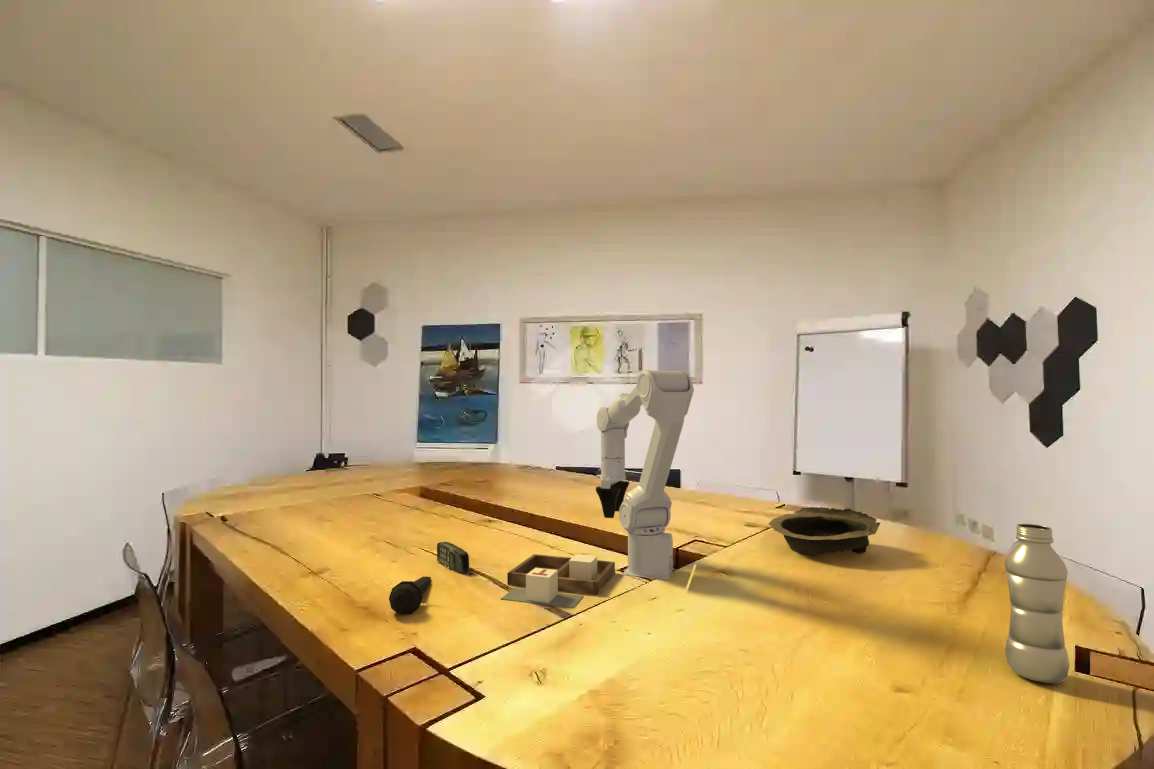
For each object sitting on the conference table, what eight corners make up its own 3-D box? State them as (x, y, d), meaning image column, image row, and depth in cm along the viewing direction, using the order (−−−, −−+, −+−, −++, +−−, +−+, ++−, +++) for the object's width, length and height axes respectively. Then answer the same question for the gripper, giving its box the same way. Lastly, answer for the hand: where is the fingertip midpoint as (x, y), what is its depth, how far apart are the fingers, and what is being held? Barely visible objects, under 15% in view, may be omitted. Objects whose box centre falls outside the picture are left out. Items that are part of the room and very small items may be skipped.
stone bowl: (883, 545, 138) (883, 508, 137) (876, 581, 117) (876, 538, 116) (781, 531, 151) (780, 497, 151) (758, 560, 130) (757, 522, 130)
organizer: (614, 575, 115) (614, 561, 115) (597, 597, 102) (597, 582, 102) (533, 566, 121) (533, 554, 121) (507, 587, 108) (507, 572, 108)
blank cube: (597, 578, 112) (597, 556, 112) (591, 585, 107) (590, 562, 108) (576, 576, 113) (576, 554, 113) (569, 583, 109) (569, 560, 109)
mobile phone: (434, 541, 125) (462, 554, 113) (446, 539, 127) (476, 552, 115) (434, 563, 125) (463, 579, 113) (447, 561, 127) (476, 576, 115)
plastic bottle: (993, 667, 76) (990, 521, 76) (1038, 664, 76) (1035, 520, 77) (1035, 691, 69) (1032, 533, 70) (1084, 689, 70) (1081, 532, 70)
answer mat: (583, 599, 102) (583, 595, 102) (573, 611, 96) (573, 607, 96) (514, 590, 106) (514, 587, 106) (500, 601, 100) (500, 598, 100)
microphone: (420, 596, 112) (389, 624, 92) (412, 568, 113) (380, 590, 93) (446, 587, 112) (421, 613, 93) (438, 560, 113) (412, 579, 93)
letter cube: (557, 594, 102) (557, 569, 103) (548, 602, 98) (548, 577, 98) (535, 591, 104) (535, 567, 104) (525, 599, 100) (525, 574, 100)
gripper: (604, 454, 140) (604, 507, 139) (588, 460, 126) (588, 519, 126) (631, 454, 138) (632, 509, 137) (618, 461, 124) (618, 521, 123)
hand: (613, 514), depth 131 cm, fingers open, 7 cm apart
